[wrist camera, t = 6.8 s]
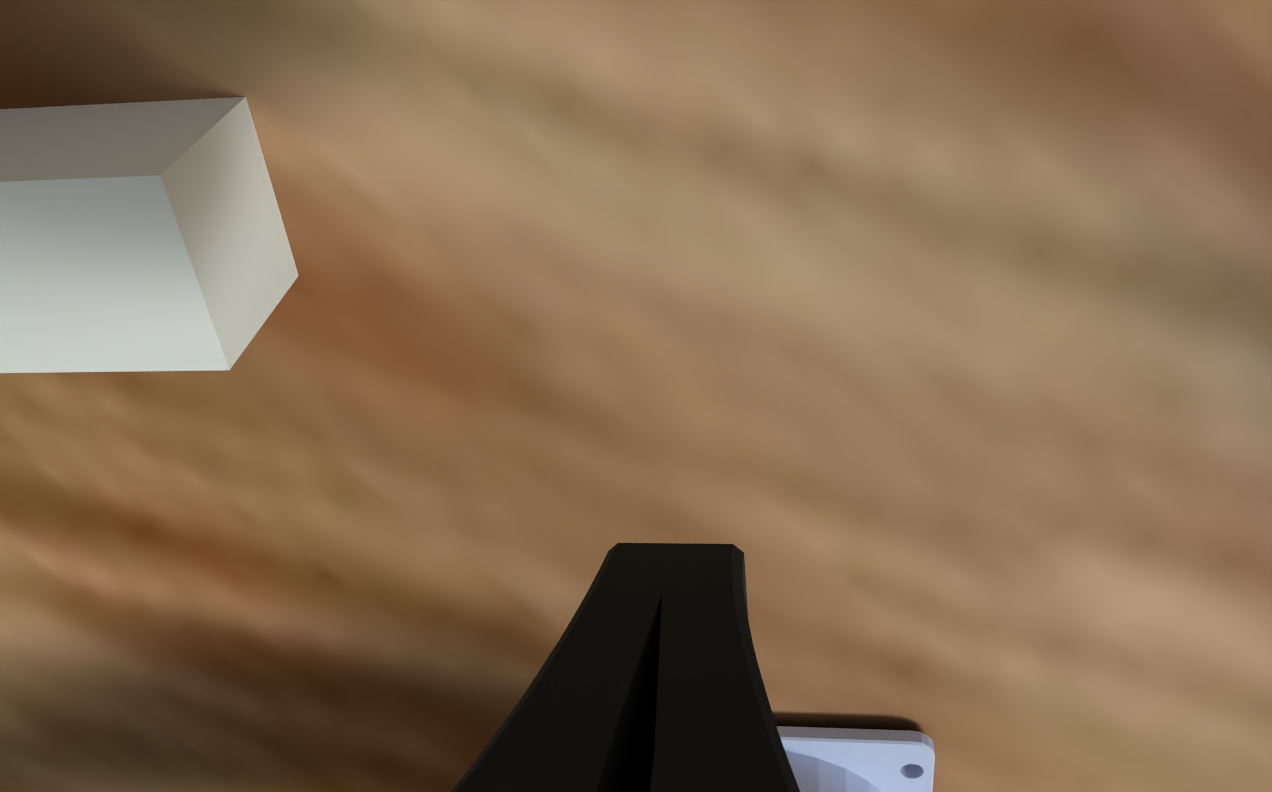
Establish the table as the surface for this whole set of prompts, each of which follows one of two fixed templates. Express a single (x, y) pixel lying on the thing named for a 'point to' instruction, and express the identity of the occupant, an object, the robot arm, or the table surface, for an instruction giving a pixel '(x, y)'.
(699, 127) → the table surface
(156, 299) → the gray rectangular block
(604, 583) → the robot arm
